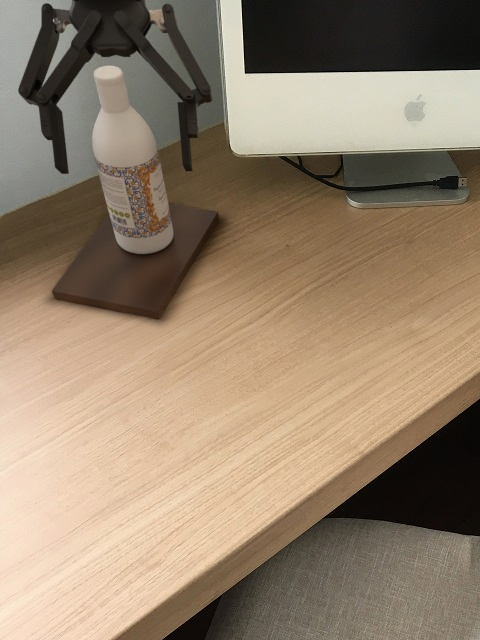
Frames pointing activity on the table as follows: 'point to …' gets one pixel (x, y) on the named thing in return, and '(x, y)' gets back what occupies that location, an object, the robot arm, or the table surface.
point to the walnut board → (136, 267)
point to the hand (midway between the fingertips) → (125, 170)
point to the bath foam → (129, 169)
